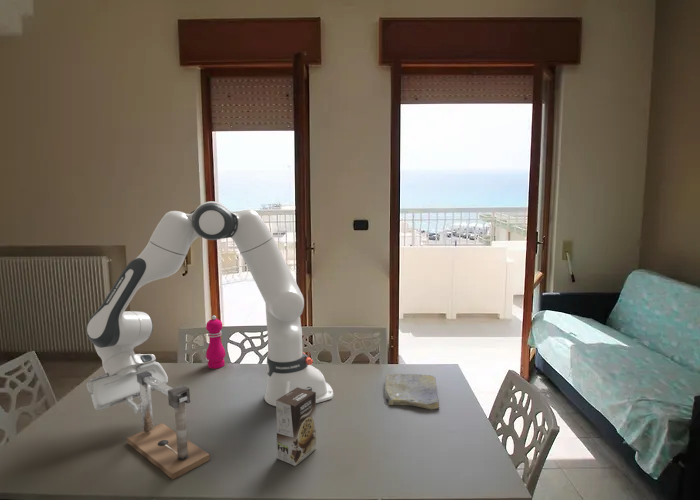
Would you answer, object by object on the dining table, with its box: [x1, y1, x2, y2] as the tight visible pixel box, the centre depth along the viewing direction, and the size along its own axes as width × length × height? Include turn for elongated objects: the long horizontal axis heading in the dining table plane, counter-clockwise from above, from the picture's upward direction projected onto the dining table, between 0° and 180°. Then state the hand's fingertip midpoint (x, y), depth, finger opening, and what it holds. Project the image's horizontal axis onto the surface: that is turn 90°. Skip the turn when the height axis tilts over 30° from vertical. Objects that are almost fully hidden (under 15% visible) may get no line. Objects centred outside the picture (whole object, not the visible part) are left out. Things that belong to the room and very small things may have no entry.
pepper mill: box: [205, 315, 226, 370], centre depth 173 cm, size 7×7×20 cm
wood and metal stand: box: [126, 384, 211, 480], centre depth 118 cm, size 24×10×20 cm, turn 50°
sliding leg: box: [137, 371, 187, 432], centre depth 118 cm, size 21×3×17 cm, turn 50°
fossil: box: [383, 373, 440, 411], centre depth 150 cm, size 20×5×17 cm
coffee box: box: [275, 387, 317, 467], centre depth 117 cm, size 9×6×16 cm
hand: (141, 410), depth 127 cm, fingers closed
